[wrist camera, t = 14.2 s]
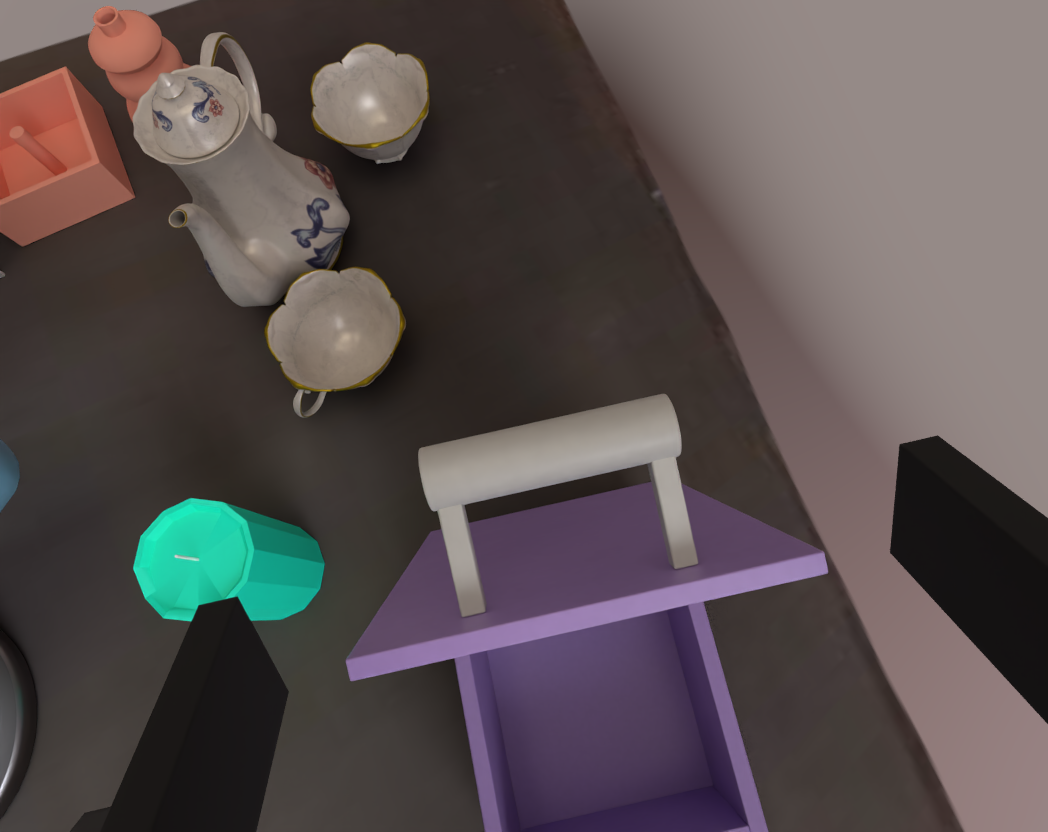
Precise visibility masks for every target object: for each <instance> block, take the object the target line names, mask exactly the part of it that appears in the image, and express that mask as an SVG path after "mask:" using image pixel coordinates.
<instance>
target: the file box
mask: <svg viewBox="0 0 1048 832" xmlns="http://www.w3.org/2000/svg"><path fill="white" fill-rule="evenodd" d="M454 660H455V665H456V671H457V677H458V682H459V688H460V694H461V699H462V705H463V711H464V716H465V722H466V728H467V733H468V739H469V745H470V750H471V756H472V762H473V767H474V773H475V779H476V785H477V790H478V796H479V802H480V807H481V813H482V819H483V824H484V830H485V832H768V829H767V825H766V822H765V818H764V814H763V811H762V807H761V804H760V800H759V797H758V793H757V790H756V786H755V783H754V779H753V776H752V772H751V769H750V765H749V761H748V758H747V754H746V751H745V747H744V744H743V740H742V737H741V733H740V730H739V726H738V723H737V719H736V716H735V712H734V709H733V705H732V701H731V698H730V694H729V691H728V687H727V684H726V680H725V677H724V673H723V670H722V666H721V663H720V659H719V656H718V652H717V648H716V645H715V641H714V638H713V634H712V631H711V627H710V624H709V620H708V617H707V613H706V610H705V606H704V603H703V602H699V603H695V604H691V605H686V606H682V607H677V608H673V609H669V610H664V611H660V612H655V613H651V614H646V615H642V616H638V617H633V618H629V619H624V620H620V621H616V622H611V623H607V624H602V625H598V626H594V627H589V628H585V629H580V630H576V631H571V632H567V633H563V634H558V635H554V636H549V637H545V638H541V639H536V640H532V641H527V642H523V643H519V644H514V645H510V646H505V647H501V648H496V649H492V650H488V651H483V652H479V653H474V654H470V655H466V656H461V657H457V658H454Z"/></svg>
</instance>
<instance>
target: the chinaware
mask: <svg viewBox="0 0 1048 832" xmlns="http://www.w3.org/2000/svg"><path fill="white" fill-rule="evenodd" d="M220 44H221V45H222V46H223V47H224V48H225V49H226V50H227V51H228V53H229V54H230V56H231V58H232V59H233V61H234V63H235V65H236V68H237V70H238V72H239V75H240V77H241V80H242V83H243V85H242V84H241V83H240V81H239V79H238V78H237V77H236V76H235V75H233V74H230V73H228V72H226V71H224V70H223V69H221V68H219V67H213V65H214V60H215V56H216V53H217V49H218V47H219V45H220ZM428 89H429V86H428V76H427V72H426V69H425V65H424V63H423V61H422V60H420V59H418V58H416V57H415V56H413V55H411V54H397V57H396V54H395V52H393V51H392V50H390V49H388V48H387V47H385V46H383V45H381V44H374V43H368V42H366V43H363V44H361V45H359V46H356V47H354V48H352V49H351V50H350V51H349V52H348V53H347V54H346V55H345V56H344V58H343V59H342V64H341V63H340V62H335V63H331V64H327V65H324V66H323V67H322V68H321V69H320V70H319V71H317V72H316V73H315V74H314V75H313V79H312V84H311V89H310V90H311V97H312V104H313V105H314V106H313V107H312V112H311V117H312V121H313V125H314V128H315V130H316V131H317V132H319V133H320V134H323V135H324V136H326V137H328V138H329V139H331V140H334V141H336V142H338V143H340V144H341V145H342V146H343V147H345V148H346V149H347V150H349V151H350V152H352V153H354V154H355V155H357V156H360V157H362V158H366V159H372V160H375V162H376V164H379V163H389V162H394V161H397V160H399V161H400V160H402V157H403V156H404V155H405V153H406V152H407V150H408V148H409V147H410V146H411V145H412V143H413V142H414V141H415V139H416V138H417V136H418V134H419V132H420V130H421V127H422V123H423V120H424V119H425V118H426V117H427V114H428V107H429V102H430V99H429V92H428ZM133 125H134V137H135V139H136V141H137V142H138V143H139V144H140V146H141V148H142V150H143V151H144V152H145V153H146V154H148V155H149V156H151V157H153V158H155V159H156V160H158V161H160V162H162V163H165V164H167V165H168V166H170V167H171V168H172V169H173V170H174V172H175V173H176V174H177V175H178V176H179V178H180V179H181V180H182V181H183V183H184V184H185V185H186V187H187V188H188V190H189V191H190V193H191V195H192V197H193V203H192V204H189V203H188V204H183V205H180V206H179V207H177V208H176V209H174V210H173V211H172V212H171V214H170V216H169V224H170V225H171V226H172V227H174V228H181V227H184V226H187V227H188V228H189V230H190V231H191V233H192V234H193V236H194V238H195V240H196V242H197V243H198V245H199V247H200V249H201V251H202V253H203V256H204V261H205V265H206V268H207V270H208V272H209V273H210V274H211V275H212V276H213V277H215V278H216V280H217V282H218V284H219V285H220V287H221V288H222V290H223V291H224V292H225V294H226V295H227V296H228V297H229V298H230V299H231V300H232V301H233V302H234V303H236V304H237V305H239V306H242V307H248V306H270V305H274V304H275V303H277V302H278V301H279V300H280V299H281V298H282V297H283V296H284V294H286V296H285V299H284V303H285V305H282V304H281V305H280V306H279V307H278V308H277V309H276V310H275V311H274V312H273V313H272V314H271V315H270V317H269V319H268V322H267V325H266V327H265V329H264V335H265V338H266V341H267V345H268V348H269V349H270V351H271V353H272V354H273V356H274V357H275V359H276V360H277V361H278V362H280V363H281V364H279V365H280V368H281V370H282V373H283V375H284V376H285V377H286V379H287V380H288V381H289V382H290V383H291V384H292V386H293V387H295V388H296V389H299V390H298V392H297V394H296V396H295V398H294V401H293V407H294V411H295V413H296V414H297V415H299V416H301V417H303V418H307V417H310V416H312V415H313V414H315V413H316V412H317V411H318V409H319V408H320V407H321V405H322V403H323V401H324V398H325V395H326V392H331V391H335V392H336V391H343V390H351V389H355V388H358V387H365V386H367V385H369V384H370V383H372V382H373V381H374V379H375V378H376V377H378V376H379V375H380V374H381V373H382V372H383V371H384V370H385V368H386V367H387V366H388V364H389V363H390V361H391V358H392V356H393V354H394V352H395V350H396V348H397V346H398V344H399V342H400V340H401V337H402V334H403V331H404V330H405V327H406V320H405V317H404V316H403V313H402V310H401V307H400V306H399V304H398V303H397V301H396V300H395V299H394V298H392V294H391V292H390V291H389V289H388V287H387V285H386V284H385V282H384V281H383V280H382V278H380V277H379V276H378V275H377V273H376V272H375V271H374V270H372V269H370V268H361V267H350V268H347V269H343V270H340V274H339V273H338V272H337V271H336V270H331V269H332V268H333V266H334V265H335V263H336V262H337V260H338V258H339V255H340V253H341V250H342V245H343V234H344V233H345V231H346V229H347V227H348V225H349V221H350V216H349V213H348V210H347V209H346V207H345V206H344V204H343V202H342V200H341V198H340V196H339V193H338V191H337V189H336V186H335V182H334V179H333V176H332V173H331V171H330V170H329V169H328V168H327V167H326V166H325V165H323V164H321V163H319V162H316V161H313V160H310V159H306V158H303V157H299V156H296V155H293V154H290V153H288V152H286V151H285V150H283V149H282V148H280V147H279V146H278V145H276V144H275V143H274V142H272V141H274V139H275V138H276V135H277V128H276V124H275V121H274V120H273V118H272V117H271V116H270V115H269V114H262V113H261V102H260V95H259V90H258V85H257V82H256V78H255V75H254V72H253V69H252V66H251V64H250V62H249V60H248V58H247V56H246V54H245V52H244V50H243V49H242V47H241V46H240V44H239V43H238V42H237V41H236V40H235V39H234V38H233V37H232V36H230V35H229V34H227V33H223V32H218V33H211V34H209V35H208V36H207V37H206V38H205V39H204V41H203V44H202V48H201V56H200V65H194V66H191V67H189V68H185V69H177V70H174V71H172V72H171V73H161V74H160V75H159V76H158V79H157V81H155V82H154V83H153V84H152V86H151V87H150V89H149V90H148V91H147V92H146V93H145V94H144V95H143V96H141V98H140V99H139V102H138V107H137V109H136V111H135V113H134V115H133ZM311 391H314V392H320V394H319V396H318V399H317V401H316V402H315V404H314V405H313V406H312V407H311V408H310V409H309V410H307V411H306V412H303V413H302V410H301V402H302V396H303V394H304V393H307V394H310V393H311Z"/></svg>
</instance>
